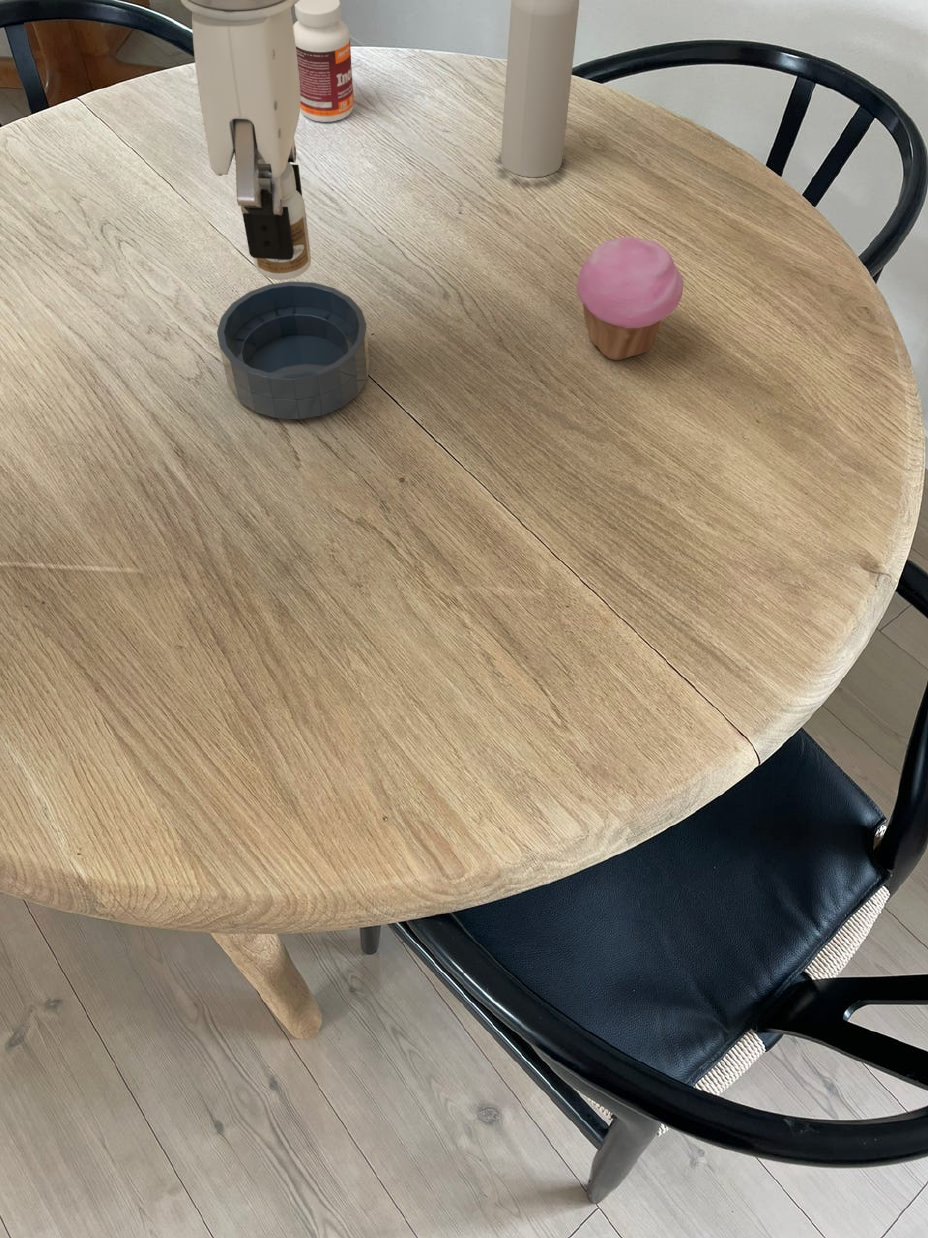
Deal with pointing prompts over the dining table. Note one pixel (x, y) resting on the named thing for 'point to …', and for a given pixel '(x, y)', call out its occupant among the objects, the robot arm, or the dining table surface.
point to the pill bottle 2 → (323, 60)
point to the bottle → (538, 85)
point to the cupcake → (627, 294)
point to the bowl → (294, 349)
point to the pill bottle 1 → (299, 231)
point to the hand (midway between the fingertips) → (277, 232)
